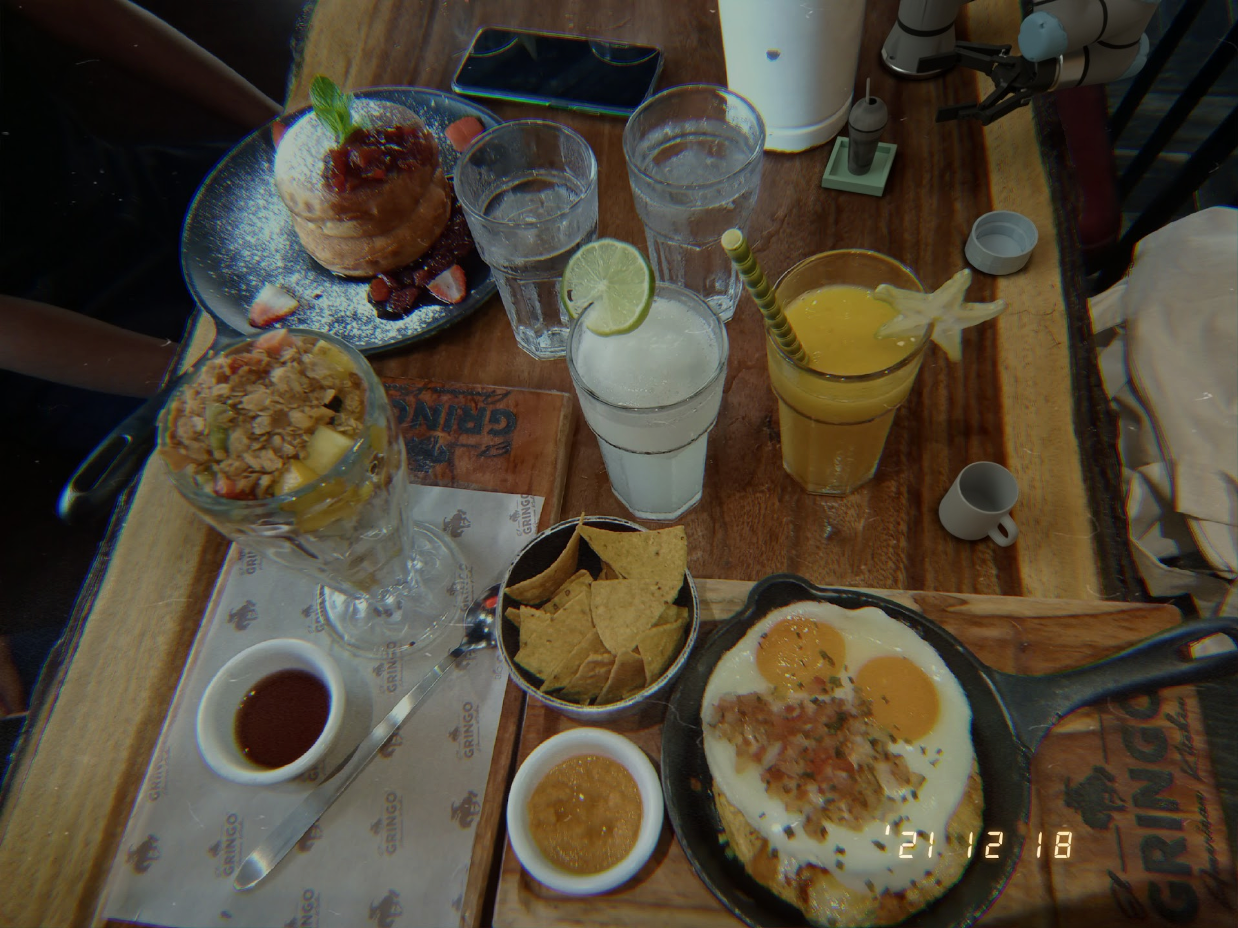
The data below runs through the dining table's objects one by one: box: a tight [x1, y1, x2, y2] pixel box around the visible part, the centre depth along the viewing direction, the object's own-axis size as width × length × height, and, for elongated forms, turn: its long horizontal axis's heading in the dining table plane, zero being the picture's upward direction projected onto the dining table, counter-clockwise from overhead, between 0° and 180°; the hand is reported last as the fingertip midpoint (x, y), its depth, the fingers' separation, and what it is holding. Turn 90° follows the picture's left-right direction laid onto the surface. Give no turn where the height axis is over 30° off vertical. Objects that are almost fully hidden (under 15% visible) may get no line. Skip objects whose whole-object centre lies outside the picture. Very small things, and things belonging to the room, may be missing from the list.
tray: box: [821, 136, 898, 197], centre depth 148 cm, size 12×12×2 cm
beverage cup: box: [847, 77, 889, 176], centre depth 140 cm, size 7×7×20 cm
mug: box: [938, 461, 1020, 547], centre depth 109 cm, size 12×8×11 cm
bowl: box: [964, 209, 1040, 276], centre depth 134 cm, size 11×11×5 cm
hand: (926, 90), depth 134 cm, fingers open, 13 cm apart
